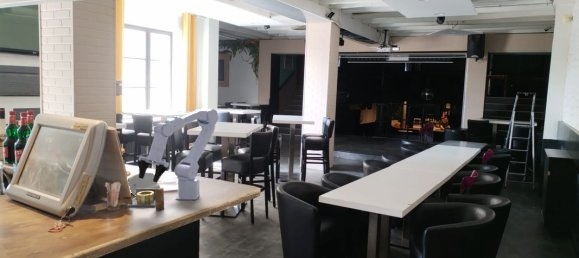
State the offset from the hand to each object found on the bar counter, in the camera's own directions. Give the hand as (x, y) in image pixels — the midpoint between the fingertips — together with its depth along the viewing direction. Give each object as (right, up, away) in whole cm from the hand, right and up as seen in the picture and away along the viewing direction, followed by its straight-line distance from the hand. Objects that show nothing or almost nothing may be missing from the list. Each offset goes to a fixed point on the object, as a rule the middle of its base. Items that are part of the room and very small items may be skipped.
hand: (147, 180), depth 181 cm
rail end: (+5, -12, 0) cm, 14 cm away
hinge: (-12, -9, +27) cm, 31 cm away
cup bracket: (-4, -11, +9) cm, 15 cm away
